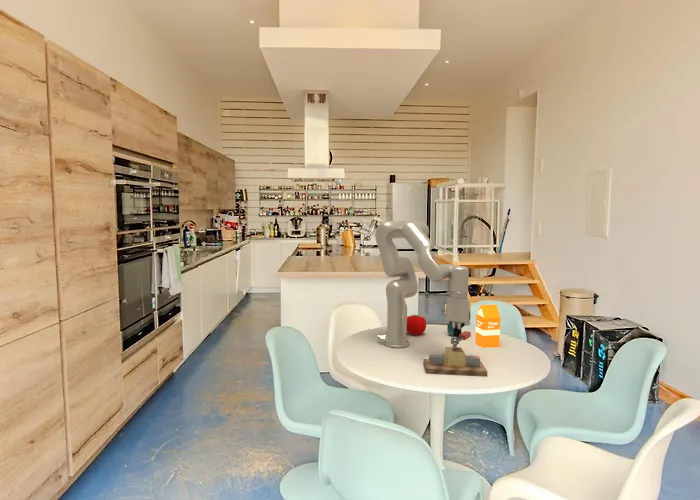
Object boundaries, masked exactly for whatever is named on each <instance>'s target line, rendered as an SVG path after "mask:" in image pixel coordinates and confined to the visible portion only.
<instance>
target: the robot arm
mask: <svg viewBox="0 0 700 500" xmlns="http://www.w3.org/2000/svg"><path fill="white" fill-rule="evenodd" d="M429 229H430V228H429V226H428V224H426V223H425V222H423V221H419V220H418V221H417V220H416V221H415V220H414V221H413V220H386V221H383V222H381V223H379V224H378V226H377V227H376V229H375V234H374V235H375V236H374V238H375V241H376V245H377V248H378V250H379V255H380V259H381V263H382V267H383V270H384V271H383V272H384V274H385V276H387V277H388V278H397V277H398V279H393V280H390V281H389V282H388V283H387V284H386V286H385V294H386V301H387V304H386V305H387V314H386V315H387V317H386V319H387V321H386V334H383V335H381V334H377V340H379V341H383V345H384V346H386V347H389V348H396V349H401V348H402V349H403V348H408V347H409V346H410V343H411V342H410V341H409V340H407V338H408V337H407V334H408V333H407V317H408V306H407V302H406V299H408V298H409V299H410V298H413V297H414V296H416V295H417V293H418V291H419V286H418V281H417V280H418V279H417V276H416V272H415V269H414V265H413V262H412V261H411V259H410V258H408V257H406V256H399V253H398V248H397V246H396V245H395V243H394V241H393V240H392V239H405V240H406V242H407V243H408V244H409V246H410V247H411V248H412V249H413V250H414V252H415V253H416V255H417V260H418V265H419V267H420V270H421V271H422V272H423V273H424V275H425V276H426V278H427V279H429V280H430V281H432V282H433V283H442V282H449V281H450V282H449V290H447V291H446V294H447V295H448V296H449V297H447V299H446V304H445V311H444V319H445V322H446V323H447V324H448V323H450V324H451V325H452V327H453V334H452V336H456V337H459V334H461V333H462V328H464V327H466V326H470V325H471V322H470V321H471V317H472V316H471V312H472V311H471V302H470V299H469V297H468V296H469V280H470V279H469V275H470V271H469V268H468V266H463V265H455V264H451V263H444V264H443V263H442V264H437V263H436V262H435V260H434V259H433V258H432V256H431V251H432V249H433V247H434V243H433V241H432V240H431V239H430V238H429V237H428V235H429V233H430V230H429ZM457 322H458V326H457Z"/></svg>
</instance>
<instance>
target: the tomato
mask: <svg viewBox="0 0 700 500" xmlns="http://www.w3.org/2000/svg"><path fill="white" fill-rule="evenodd" d="M426 328H427V320H426V318H425V317H424V316H421V315H418V314H410V315H407V334H409V335H411V336H419V335H422V334H423V333H424V332H426Z"/></svg>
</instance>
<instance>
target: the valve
mask: <svg viewBox="0 0 700 500" xmlns="http://www.w3.org/2000/svg"><path fill="white" fill-rule="evenodd" d="M428 354H429V355H428V359H429V364H430V365H435V366H447V367H453V368H463V367H478V368H480V361H481V358H480V356H479V355H466V354H465V352H464V349H463V348H462V347H460V346H459V347H458V344H457V345H455V344H452V346H445V351H444V352H443V353H440V354H439V353H428Z"/></svg>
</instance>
